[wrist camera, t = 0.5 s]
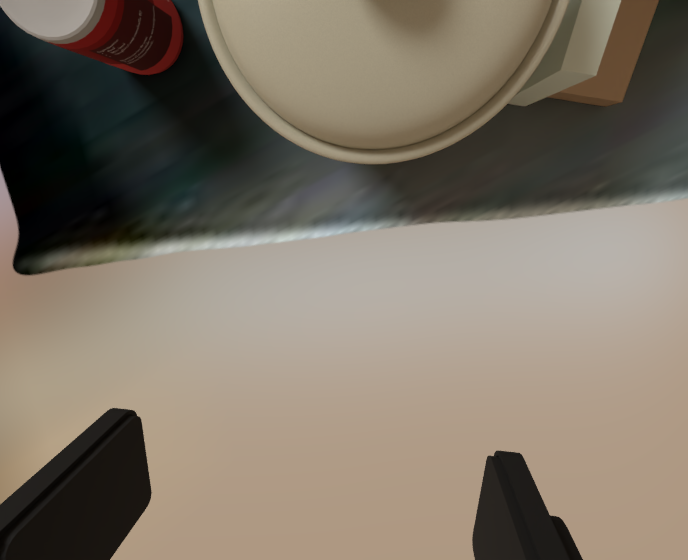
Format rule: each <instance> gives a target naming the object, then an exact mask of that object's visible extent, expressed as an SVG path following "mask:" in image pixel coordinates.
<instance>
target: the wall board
mask: <svg viewBox="0 0 688 560" xmlns="http://www.w3.org/2000/svg"><path fill="white" fill-rule="evenodd" d="M658 2H659V0H570V2H569V4H568V7H567V10H566V13H565V15H564V18H563V20H562V22H561V25H560V27H559V29H558V31H557V34H556V36H555V38H554V40H553V42H552V43H551V45H550V47H549V49H548V51H547V52H546V54H545V56H544V57H543V59H542V61H541V62H540V64H539V65H538V67H537V68H536V70H535V71H534V73H533V74H532V75H531V77H530V78H529V79H528V81H527V82H526V83H525V85H524V86H523V87H522V88H521V89H520V91H519V92H518V93H517V94H516V95H515V96H514V97H513V99H512V100H511V101H510V102H509V103H508V104H512V105H518V106H524V107H525V106H527V105H530V104H532V103H534V102H537V101H539V100H541V99H544V98H546V97H549V98H555V99H561V100H567V101H573V102H579V103H585V104H591V105H598V106H604V107H606V106H610V105H613V104H617V103H621V102H622V101H623V99H624V96H625V93H626V90H627V87H628V85H629V82H630V79H631V76H632V74H633V71H634V68H635V65H636V62H637V60H638V57H639V54H640V51H641V49H642V46H643V43H644V40H645V38H646V35H647V32H648V29H649V26H650V24H651V21H652V18H653V15H654V13H655V10H656V7H657V4H658Z"/></svg>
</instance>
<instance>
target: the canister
mask: <svg viewBox="0 0 688 560" xmlns="http://www.w3.org/2000/svg"><path fill="white" fill-rule="evenodd" d="M569 2H570V0H198V3H199V7H200V11H201V15H202V19H203V22H204V26H205V29H206V32H207V35H208V38H209V40H210V43H211V45H212V48H213V50H214V52H215V55H216V57H217V59H218V61H219V63H220V65H221V67H222V69H223V70H224V72H225V74H226V76H227V77H228V79H229V81H230V82H231V84H232V85H233V87H234V88H235V90H236V91H237V92H238V94H239V95H240V96H241V98H242V99H243V100H244V101H245V102H246V104H247V105H248V106H249V107H250V108H251V109H252V110H253V111H254V112H255V113H256V114H257V115H258V116H259V117H260V118H261V119H262V120H263V121H264V122H265V123H266V124H267V125H268V126H270V127H271V128H272V129H273V130H275V131H276V132H277V133H279V134H280V135H282V136H283V137H285V138H286V139H288V140H289V141H291V142H293V143H294V144H296V145H298V146H300V147H302V148H304V149H306V150H308V151H311V152H313V153H316V154H318V155H321V156H324V157H327V158H331V159H335V160H339V161H344V162H350V163H358V164H388V163H397V162H403V161H408V160H412V159H416V158H420V157H423V156H426V155H429V154H432V153H434V152H437V151H439V150H442V149H444V148H446V147H448V146H450V145H452V144H454V143H456V142H458V141H460V140H461V139H463V138H465V137H467V136H468V135H470V134H471V133H473V132H474V131H476V130H477V129H479V128H480V127H481V126H483V125H484V124H485V123H486V122H488V121H489V120H490V119H491V118H493V117H494V116H495V115H496V114H497V113H498V112H499V111H501V110H502V109H503V108H504V107H505V106H506V105H507V104H508V103H509V102H510V101H511V100H512V99H513V97H514V96H515V95H516V94H517V93H518V92H519V91H520V89H521V88H522V87H523V86H524V85H525V83H526V82H527V81H528V79H529V78H530V77H531V75H532V74H533V73H534V71H535V70H536V68H537V67H538V65H539V64H540V62H541V61H542V59H543V57H544V56H545V54H546V52H547V51H548V49H549V47H550V45H551V43H552V42H553V40H554V38H555V36H556V34H557V31H558V29H559V27H560V25H561V22H562V20H563V18H564V15H565V13H566V10H567V7H568V4H569Z"/></svg>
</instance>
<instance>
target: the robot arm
mask: <svg viewBox="0 0 688 560" xmlns="http://www.w3.org/2000/svg"><path fill="white" fill-rule="evenodd" d="M145 451H146V450H145V443H144V436H143V429H142V422H141V419H140V417H138V416H137V414H136V412H135V411H133V410H127V409H118V408H112V409H110V410H108V411H107V412H106V413H104V414H103V415H102V416H101V417H100V418H99V419H98V420H96V422H94V423H93V424H92V425H91V426H90V427H88V428H87V429H86V430H85V431H84V432H83V433H82V434H81V435H79V436H78V437H77V438H76V439H75V440H74V441H72V442H71V443H70V444H69V445H68V446H67V447H66V448H64V449H63V450H62V451H61V452H60V453H59V454H58V455H56V456H55V457H54V458H53V459H52V460H51V461H50V462H49V463H47V464H46V465H45V466H44V467H43V468H42V469H41V470H39V471H38V472H37V473H36V474H35V475H34V476H32V477H31V478H30V479H29V480H28V481H27V482H26V483H24V484H23V485H22V486H21V487H20V488H19V489H18V490H16V491H15V492H14V493H13V494H12V495H11V496H10V497H8V498H7V499H6V500H5V501H4V502H3V503H2V504H1V505H0V560H110V559H111V557H112V556H113V554H114V553H115V552H116V550H117V549H118V547H119V546H120V545H121V543H122V542H123V540H124V539H125V537H126V536H127V535H128V533H129V532H130V530H131V529H132V527H133V526H134V525H135V523H136V522H137V520H138V519H139V518H140V516H141V515H142V513H143V512H144V511H145V509H146V507H147V506H148V504H149V502H150V499H151V486H150V479H149V472H148V464H147V457H146V452H145ZM473 551H474V557H475V560H583V559H582V557H581V555H580V553H579V551H578V549H577V547H576V545H575V543H574V541H573V539H572V537H571V535H570V532H569V530H568V528H567V527H566V525H565V523H564V522H563V520H562V519H561V518H559V517H556V516H550V515H549V513H548V511H547V509H546V506H545V504H544V502H543V500H542V498H541V495H540V493H539V491H538V489H537V486H536V484H535V482H534V480H533V478H532V476H531V473H530V471H529V469H528V467H527V465H526V462H525V460H524V458H523V456H522V455H521V454H520V453H515V452H505V451H496V452H495V454H494V456H488V457H487V460H486V466H485V471H484V477H483V482H482V487H481V493H480V498H479V504H478V509H477V514H476V520H475V525H474V531H473Z"/></svg>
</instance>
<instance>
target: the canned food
mask: <svg viewBox="0 0 688 560" xmlns="http://www.w3.org/2000/svg"><path fill="white" fill-rule="evenodd" d="M0 6H1V7H2V9H3V10H4V11H5V13H6V14H7V15H8V17H9V18H10V19H11V20H12V21H13V22H14V23H15V24H16V25H17V26H19V27H20V28H22V29H23V30H24V31H26V32H27V33H29V34H31V35H33V36H35V37H37V38H39V39H41V40H44V41H46V42H49V43H51V44H54V45H57V46H59V47H62V48H64V49H67V50H70V51H73V52H76V53H79V54H81V55H84V56H87V57H90V58H93V59H95V60H98V61H101V62H104V63H107V64H110V65H112V66H115V67H118V68H121V69H124V70H126V71H129V72H132V73H136V74H140V75H151V74H156V73H160V72H163V71H165V70H167V69H168V68H169V67H170V66H172V65H173V64H174V62H175V61H176V60H177V58H178V56H179V54H180V52H181V48H182V44H183V27H182V23H181V19H180V16H179V14H178V12H177V10H176V8H175V6H174V4H173V3H172V1H171V0H0Z"/></svg>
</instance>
